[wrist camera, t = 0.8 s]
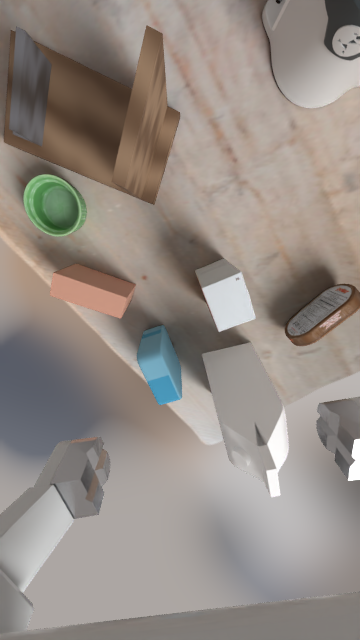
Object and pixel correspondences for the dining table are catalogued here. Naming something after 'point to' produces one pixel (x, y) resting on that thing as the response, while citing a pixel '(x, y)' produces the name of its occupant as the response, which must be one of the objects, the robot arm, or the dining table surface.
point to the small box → (225, 294)
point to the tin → (323, 314)
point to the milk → (248, 412)
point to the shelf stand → (92, 115)
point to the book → (92, 289)
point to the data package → (160, 365)
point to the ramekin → (54, 205)
